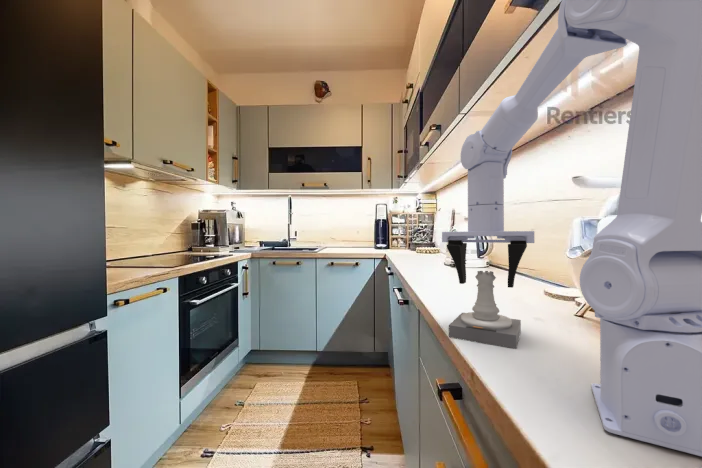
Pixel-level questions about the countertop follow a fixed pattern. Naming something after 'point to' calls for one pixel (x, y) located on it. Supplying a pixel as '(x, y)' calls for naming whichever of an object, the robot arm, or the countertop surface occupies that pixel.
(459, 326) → the kitchen scale
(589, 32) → the robot arm
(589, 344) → the countertop surface
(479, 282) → the rook chess piece
